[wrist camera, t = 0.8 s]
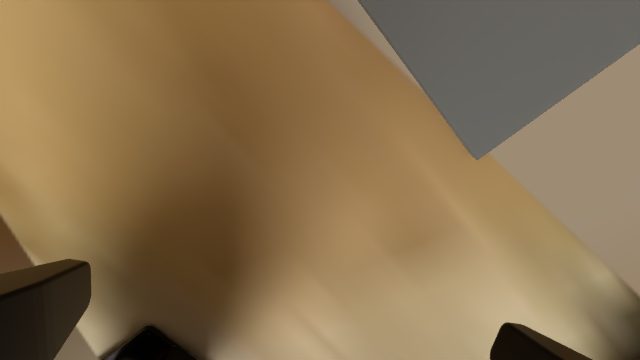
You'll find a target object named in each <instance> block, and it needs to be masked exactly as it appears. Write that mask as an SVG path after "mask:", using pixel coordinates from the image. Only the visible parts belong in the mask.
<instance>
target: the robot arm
mask: <svg viewBox="0 0 640 360" xmlns="http://www.w3.org/2000/svg"><path fill="white" fill-rule="evenodd" d="M90 299H91V268H90V264H89V263H88V262H86V261H80V260H73V259H65V260H61V261H56V262H52V263H47V264H42V265H38V266H33V267H29V268H24V269H20V270H15V271H11V272H6V273H2V274H0V360H53V359H54V358H55V357H56V355H57V353H58V352H59V350H60V349H61V347H62V346H63V344H64V343H65V341H66V340H67V338H68V337H69V335H70V334H71V332H72V331H73V329H74V327H75V326H76V324H77V323H78V321H79V320H80V318H81V317H82V315H83V314H84V312H85V311H86V309H87V307H88V305H89V302H90ZM148 334H150V335H148ZM103 360H196V359H195V358H194V357H192V356H191V355H190V354H188V353H187V352H186V351H185V350H183V349H182V348H181V347H179V346H178V345H177V344H176V343H174V342H173V341H172V340H170V339H169V338H168V337H167V336H165V335H164V334H163V333H161V332H160V331H159V330H158V329H156V328H155V327H153V326H146V327H144V328H143V329H141V330H140V331H139V332H138V333H136V334H135V335H134V336H132V337H131V338H130V339H129V340H127V341H126V342H125V343H123V344H122V345H121V346H120V347H118V348H117V349H116V350H114V351H113V352H112V353H111V354H109V355H108V356H107V357H105V358H104V359H103ZM490 360H592V359H590V358H588V357H586V356H584V355H582V354H580V353H578V352H576V351H574V350H572V349H570V348H568V347H566V346H564V345H562V344H560V343H558V342H556V341H554V340H552V339H550V338H548V337H546V336H544V335H542V334H540V333H538V332H536V331H534V330H532V329H530V328H528V327H526V326H524V325H521V324H515V323H504V324H503V325H502V326H501V328H500V330H499V332H498V335H497V337H496V339H495V341H494V344H493V346H492V348H491V352H490Z"/></svg>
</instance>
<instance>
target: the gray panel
mask: <svg viewBox="0 0 640 360" xmlns="http://www.w3.org/2000/svg"><path fill="white" fill-rule="evenodd" d="M358 1H359V3H360V4H361V5H362V7H363V8H364V9H365V11H366V12H367V13H368V15H369V16H370V18H371V19H372V20H373V22H374V23H375V25H376V26H377V27H378V29H379V30H380V31H381V33H382V34H383V35H384V37H385V38H386V40H387V41H388V42H389V44H390V45H391V46H392V48H393V49H394V50H395V52H396V53H397V55H398V56H399V57H400V59H401V60H402V61H403V63H404V64H405V65H406V67H407V68H408V69H409V71H410V72H411V74H412V75H413V76H414V78H415V79H416V80H417V82H418V83H419V85H420V86H421V87H422V89H423V90H424V91H425V93H426V94H427V95H428V97H429V98H430V100H431V101H432V102H433V104H434V105H435V106H436V108H437V109H438V110H439V112H440V113H441V115H442V116H443V117H444V119H445V120H446V121H447V123H448V124H449V126H450V127H451V128H452V130H453V131H454V132H455V134H456V135H457V136H458V138H459V139H460V141H461V142H462V143H463V145H464V146H465V147H466V149H467V150H468V151H469V153H470V154H471V155H472V156H473V157H474V158H475V159H476V160H478V159H480V158H481V157H483V156H484V155H485V154H487V153H488V152H489V151H491V150H492V149H494V148H495V147H496V146H498V145H499V144H501V143H502V142H503V141H505V140H506V139H508V138H509V137H510V136H512V135H513V134H515V133H516V132H517V131H519V130H520V129H522V128H523V127H524V126H526V125H527V124H529V123H530V122H531V121H533V120H534V119H535V118H537V117H538V116H540V115H541V114H543V113H544V112H545V111H547V110H548V109H550V108H551V107H552V106H554V105H555V104H557V103H558V102H559V101H561V100H562V99H563V98H565V97H566V96H568V95H569V94H570V93H572V92H573V91H575V90H576V89H577V88H579V87H580V86H582V85H583V84H584V83H586V82H587V81H589V80H590V79H591V78H593V77H594V76H595V75H597V74H598V73H600V72H601V71H603V70H604V69H605V68H607V67H608V66H609V65H611V64H612V63H614V62H615V61H617V60H618V59H619V58H621V57H622V56H623V55H625V54H626V53H628V52H629V51H630V50H632V49H633V48H635V47H636V46H637V45H639V44H640V0H358Z"/></svg>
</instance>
